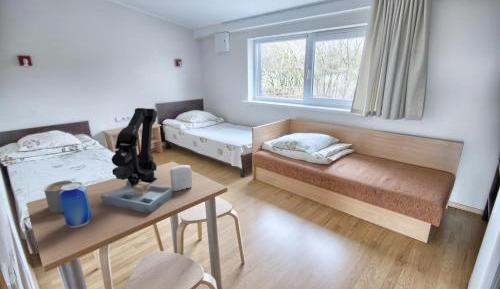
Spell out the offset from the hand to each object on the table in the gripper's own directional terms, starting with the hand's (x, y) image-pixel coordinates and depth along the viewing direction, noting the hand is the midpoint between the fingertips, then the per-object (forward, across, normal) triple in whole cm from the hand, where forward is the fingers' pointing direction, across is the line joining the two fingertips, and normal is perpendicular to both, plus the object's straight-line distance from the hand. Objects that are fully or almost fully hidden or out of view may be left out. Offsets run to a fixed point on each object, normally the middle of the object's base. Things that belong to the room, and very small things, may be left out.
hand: (134, 189), depth 120 cm
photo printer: (+3, +18, +13) cm, 22 cm away
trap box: (+3, +5, -3) cm, 6 cm away
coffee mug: (+3, -20, -20) cm, 28 cm away
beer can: (+3, -4, -26) cm, 26 cm away
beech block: (+1, +4, 0) cm, 4 cm away
